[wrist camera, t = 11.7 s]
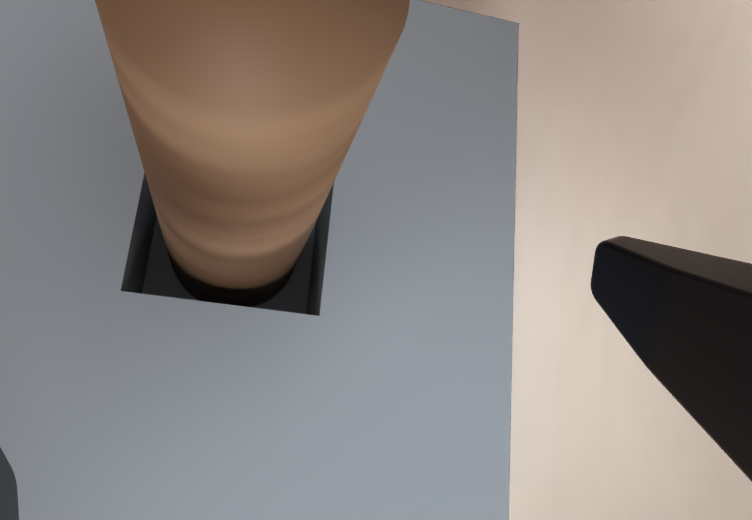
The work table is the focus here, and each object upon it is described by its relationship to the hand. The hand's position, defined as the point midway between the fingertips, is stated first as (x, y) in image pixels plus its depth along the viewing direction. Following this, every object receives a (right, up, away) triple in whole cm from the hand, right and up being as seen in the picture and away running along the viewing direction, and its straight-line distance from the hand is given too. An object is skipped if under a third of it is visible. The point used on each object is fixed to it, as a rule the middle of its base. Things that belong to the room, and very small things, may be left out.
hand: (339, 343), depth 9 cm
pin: (-4, +2, +11) cm, 12 cm away
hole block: (-4, +1, +12) cm, 13 cm away
